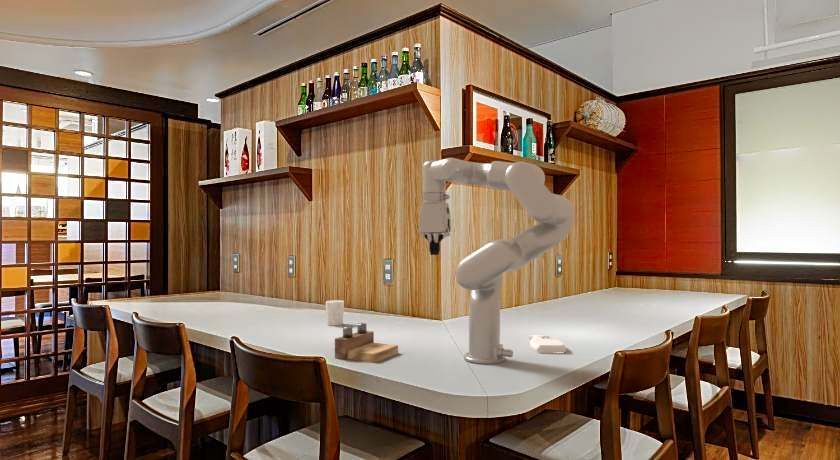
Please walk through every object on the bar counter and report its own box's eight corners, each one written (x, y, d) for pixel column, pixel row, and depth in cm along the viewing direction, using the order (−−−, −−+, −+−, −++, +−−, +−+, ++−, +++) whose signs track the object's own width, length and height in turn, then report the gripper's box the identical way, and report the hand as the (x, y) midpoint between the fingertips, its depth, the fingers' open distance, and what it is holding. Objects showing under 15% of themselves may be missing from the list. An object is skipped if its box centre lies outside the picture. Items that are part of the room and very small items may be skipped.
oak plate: (397, 354, 170) (398, 345, 170) (374, 364, 157) (374, 354, 158) (372, 351, 175) (372, 342, 175) (347, 360, 162) (347, 350, 162)
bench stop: (373, 349, 175) (373, 322, 176) (345, 359, 161) (345, 330, 161) (363, 348, 177) (363, 321, 177) (334, 357, 163) (334, 329, 163)
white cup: (340, 326, 221) (340, 302, 221) (322, 325, 222) (322, 302, 222) (346, 323, 228) (346, 300, 228) (329, 322, 230) (329, 299, 230)
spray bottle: (534, 354, 170) (523, 340, 194) (568, 354, 169) (552, 340, 194) (534, 345, 170) (522, 332, 194) (568, 345, 170) (552, 332, 194)
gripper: (459, 198, 172) (460, 254, 171) (419, 200, 178) (419, 254, 178) (450, 197, 165) (450, 255, 165) (409, 199, 172) (409, 254, 172)
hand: (434, 254), depth 171 cm, fingers closed
